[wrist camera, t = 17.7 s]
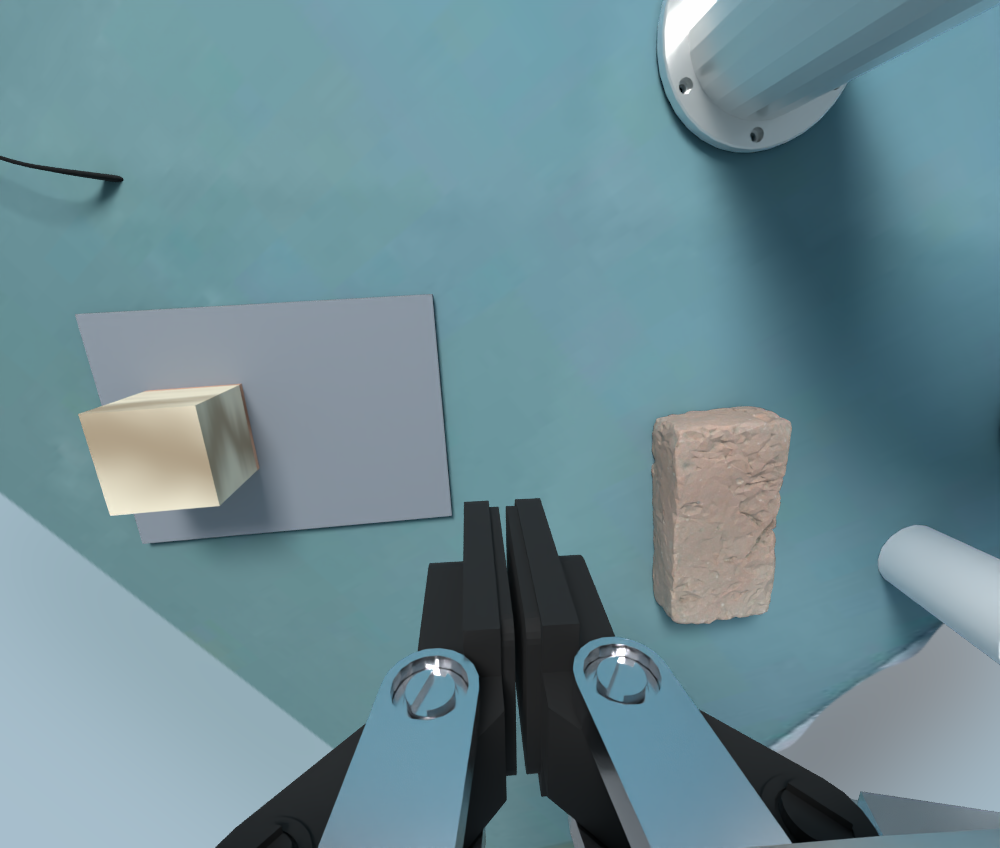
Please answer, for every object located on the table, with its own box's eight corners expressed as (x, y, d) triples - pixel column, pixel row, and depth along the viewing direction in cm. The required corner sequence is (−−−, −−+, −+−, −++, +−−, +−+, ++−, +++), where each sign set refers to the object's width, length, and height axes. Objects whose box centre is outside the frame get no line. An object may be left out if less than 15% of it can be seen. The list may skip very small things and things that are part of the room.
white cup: (868, 593, 42) (989, 682, 33) (877, 525, 41) (1008, 600, 31) (938, 582, 43) (1078, 667, 33) (951, 515, 41) (1103, 585, 31)
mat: (82, 313, 30) (74, 314, 30) (432, 294, 32) (432, 294, 31) (147, 539, 35) (142, 543, 34) (451, 512, 37) (451, 515, 36)
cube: (195, 405, 26) (241, 383, 32) (78, 414, 26) (146, 390, 31) (219, 505, 28) (259, 468, 34) (110, 515, 27) (169, 475, 33)
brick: (743, 585, 41) (778, 621, 37) (649, 598, 41) (673, 636, 36) (754, 399, 37) (795, 415, 32) (648, 411, 36) (676, 429, 32)
